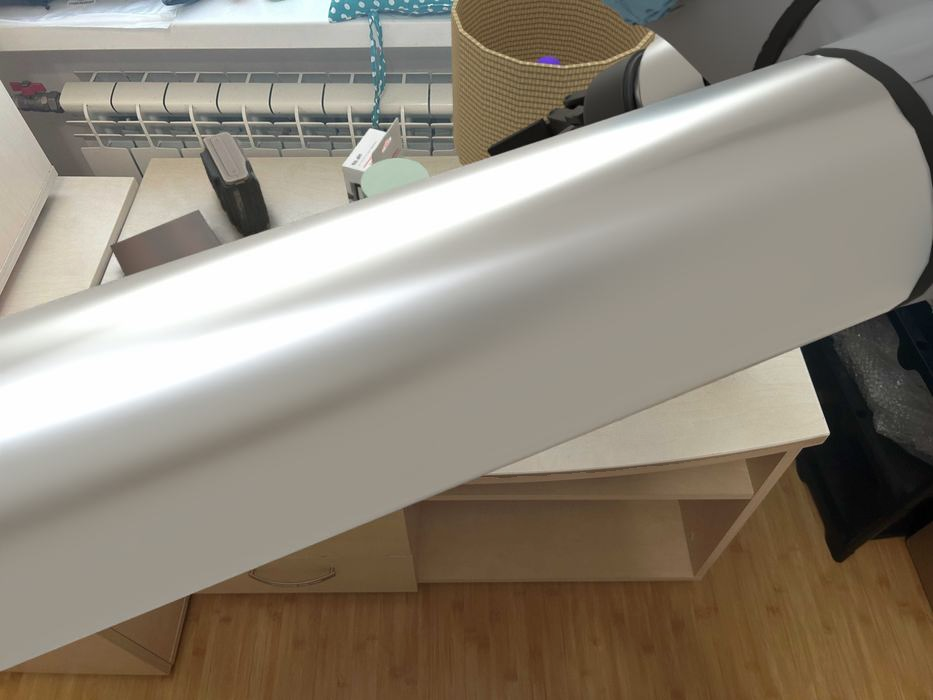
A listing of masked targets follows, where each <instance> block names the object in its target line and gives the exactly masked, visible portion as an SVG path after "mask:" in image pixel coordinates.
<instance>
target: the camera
mask: <svg viewBox="0 0 933 700" xmlns="http://www.w3.org/2000/svg"><path fill="white" fill-rule="evenodd" d="M202 142H203V151H201V152H200V153H199V156H200V159H201V162H202V164H203V167H204V171H205V172H206V173H205V174H206V176H207V179H208V180H209V183H210V185H211V186H212V189H213V191H214V193H215V195H216V197H217V199H218V200H219V203H220V206H221V208H222V210H223V211H224V212H225V213H226V216H227V218H228V220H229V222H230V223H231V225H233V226H234V227H235V228H236V229H237V231H238V233H240V234H242V236H243V237H246V236H249V235H252V234H257V233H260V232H263V231H265V230H266V229H268V228H269V227H270V225H271V219H270V216H269V213H268V209H267V204H266V202H265V198H264V195H263V191H262V187H261V184H260V181H259V180H258V178H257V176H256V174H255V172H254V169H253V166H252V164H251V162H250V160H249V158H248V157H247V155H246V153H245V151H244V147H243V145H242V144H241V141H240V140H239V139H237V137H236V136H234V137H233V136H232V134H231V133H229V132H228V131H223V132H219V133H216V134H213V135H210V136H207V137H204V138H203V139H202Z"/></svg>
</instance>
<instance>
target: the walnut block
mask: <svg viewBox="0 0 933 700" xmlns="http://www.w3.org/2000/svg"><path fill="white" fill-rule="evenodd" d="M220 245H222V244H221V242H220V241H219V238H217V236H216V234H215V233H214V231H213V229H212V228H211V226H210V225H209V223H208V222H207V220H206V218H205V217H204V215H203V214H202V212H201V210H200V209H197V210H194V211H192V212H189V213H187V214H184V215H181V216H179V217H176V218H174V219H172V220H169V221H167V222H165V223H162V224H160V225H157V226H154V227H152V228H150V229H147V230H145V231H142V232H140V233H137V234H134V235H132V236H130V237H128V238H127V237H126V238H125V239H123V240H121V241H118V242H115V243H113V244H110V245H109V247H110V250H111V251H112V253H113V255H114V257H115V258H116V259H115V260H116V261H117V263H118V264H119V267H120V268H121V270H122V272H123V274H124V277H126V276H129V275H132V274H135V273H138V272H141V271H144V270H147V269H150V268H153V267H156V266H159V265H162V264H165V263H168V262H172V261H175V260H178V259H181V258H184V257H187V256H190V255H193V254H196V253H199V252H202V251H205V250H208V249H211V248H214V247H217V246H220Z"/></svg>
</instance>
